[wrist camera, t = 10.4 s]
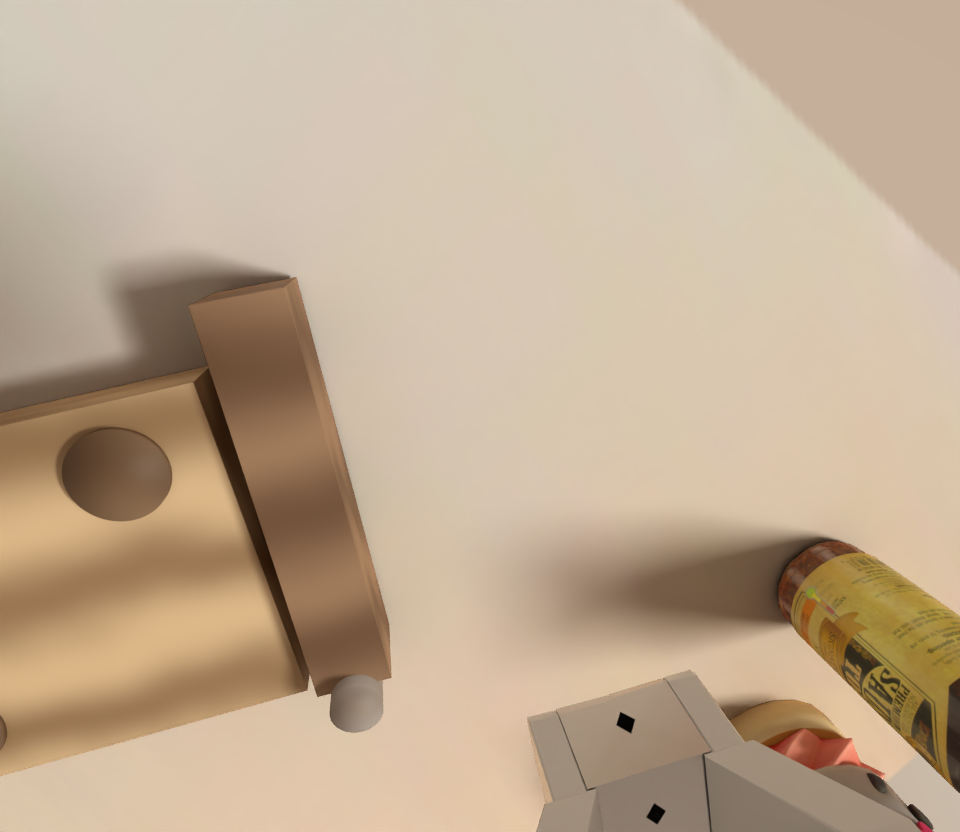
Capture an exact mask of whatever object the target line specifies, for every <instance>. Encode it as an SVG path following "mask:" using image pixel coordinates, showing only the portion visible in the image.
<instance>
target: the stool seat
mask: <svg viewBox="0 0 960 832" xmlns="http://www.w3.org/2000/svg"><path fill="white" fill-rule="evenodd" d="M309 674H310V673H309V670H308V667H307V664H306V661H305V658H304V655H303V652H302V649H301V646H300V643H299V639H298V636H297V633H296V630H295V627H294V624H293V621H292V618H291V615H290V612H289V609H288V606H287V603H286V600H285V597H284V594H283V591H282V588H281V585H280V582H279V579H278V576H277V573H276V570H275V567H274V564H273V561H272V558H271V555H270V552H269V549H268V546H267V543H266V540H265V537H264V533H263V530H262V527H261V524H260V521H259V518H258V515H257V512H256V509H255V506H254V503H253V500H252V497H251V494H250V491H249V488H248V485H247V482H246V479H245V476H244V473H243V470H242V467H241V464H240V461H239V458H238V455H237V452H236V449H235V446H234V443H233V440H232V437H231V434H230V430H229V427H228V424H227V421H226V418H225V415H224V412H223V409H222V406H221V403H220V400H219V397H218V394H217V391H216V388H215V385H214V382H213V379H212V376H211V373H210V370H209V367H208V366H205V367H201V368H196V369H192V370H187V371H183V372H179V373H174V374H170V375H165V376H161V377H157V378H152V379H148V380H143V381H139V382H135V383H130V384H126V385H121V386H117V387H112V388H108V389H104V390H99V391H95V392H90V393H86V394H82V395H77V396H73V397H68V398H64V399H59V400H55V401H51V402H46V403H42V404H37V405H33V406H29V407H24V408H20V409H15V410H11V411H7V412H2V413H0V776H2V775H6V774H9V773H13V772H16V771H20V770H24V769H27V768H31V767H34V766H38V765H41V764H45V763H49V762H52V761H56V760H59V759H63V758H67V757H70V756H74V755H77V754H81V753H84V752H88V751H92V750H95V749H99V748H102V747H106V746H110V745H113V744H117V743H120V742H124V741H127V740H131V739H135V738H138V737H142V736H145V735H149V734H152V733H156V732H160V731H163V730H167V729H170V728H174V727H178V726H181V725H185V724H188V723H192V722H195V721H199V720H203V719H206V718H210V717H213V716H217V715H221V714H224V713H228V712H231V711H235V710H238V709H242V708H246V707H249V706H253V705H256V704H260V703H263V702H267V701H271V700H274V699H278V698H281V697H285V696H289V695H292V694H296V693H299V692H303V691H306V690H307V689H308V681H309Z"/></svg>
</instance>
